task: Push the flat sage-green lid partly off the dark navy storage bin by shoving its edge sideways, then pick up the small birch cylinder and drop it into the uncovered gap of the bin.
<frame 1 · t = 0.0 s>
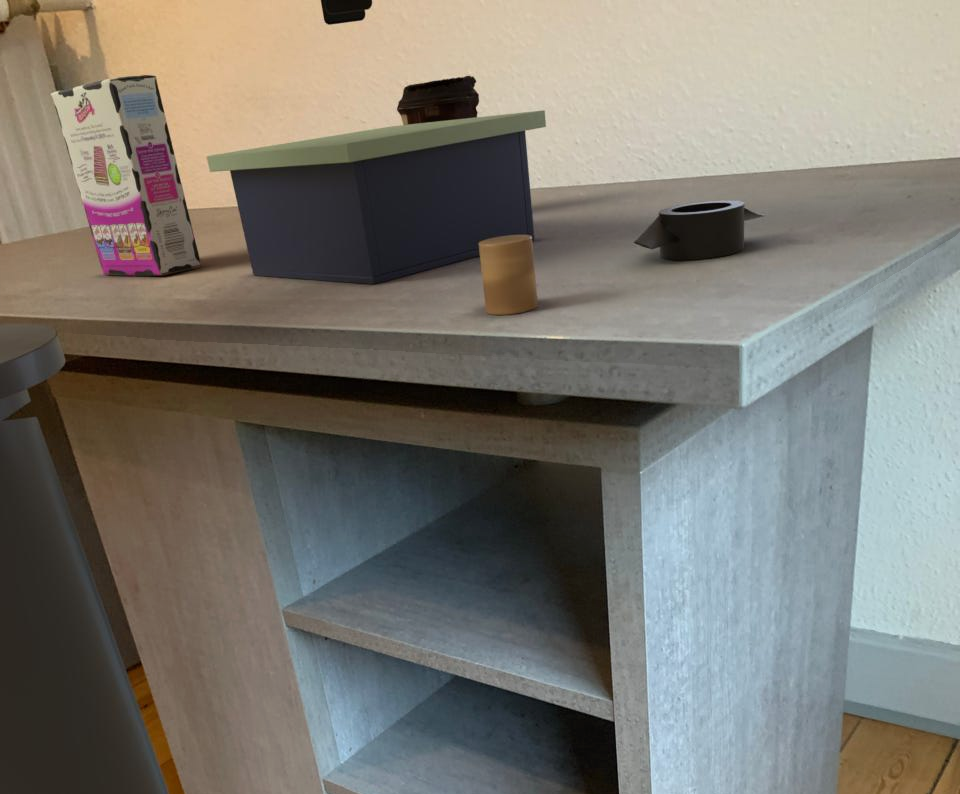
hand: (347, 17, 71), 18 cm above the table, tool pointing down, fingers open, 9 cm apart
candy bar box: (153, 273, 97), on the table
bin: (392, 258, 85), on the table
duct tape: (701, 254, 69), on the table
dark brown piece: (454, 223, 103), on the table
cylinder: (512, 308, 60), on the table
bin lid: (375, 149, 81), point 8 cm above the table, touching bin
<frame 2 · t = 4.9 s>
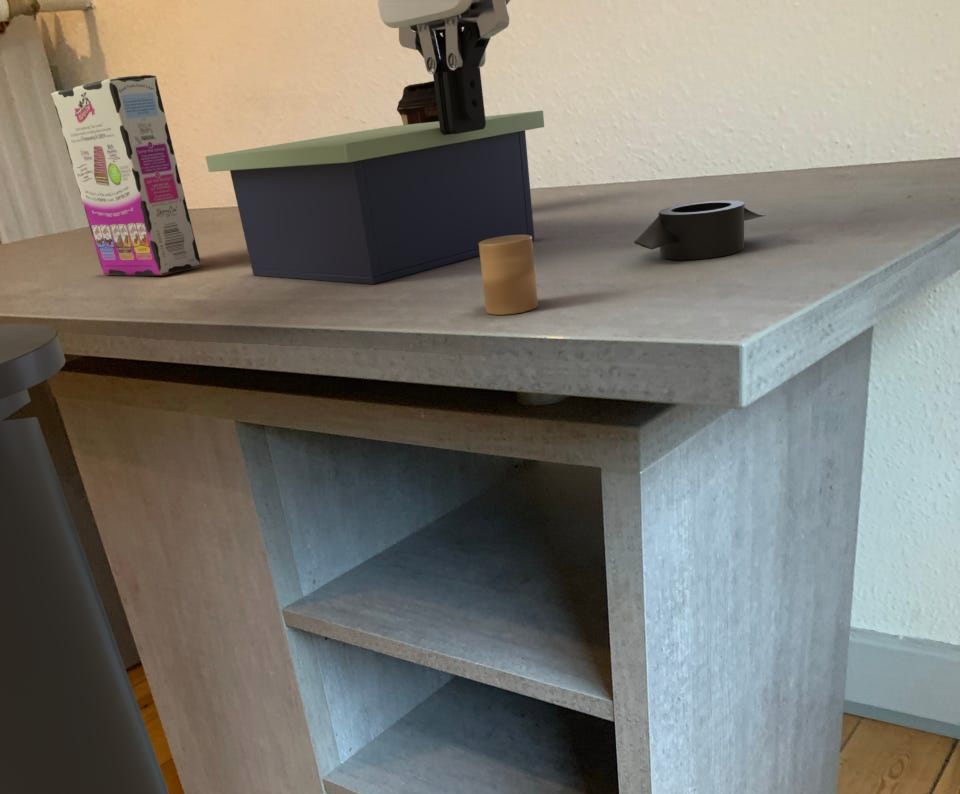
hand: (463, 131, 73), 9 cm above the table, tool pointing down, fingers closed
bin lid: (374, 149, 81), point 8 cm above the table, touching bin, gripper
everything else where it was.
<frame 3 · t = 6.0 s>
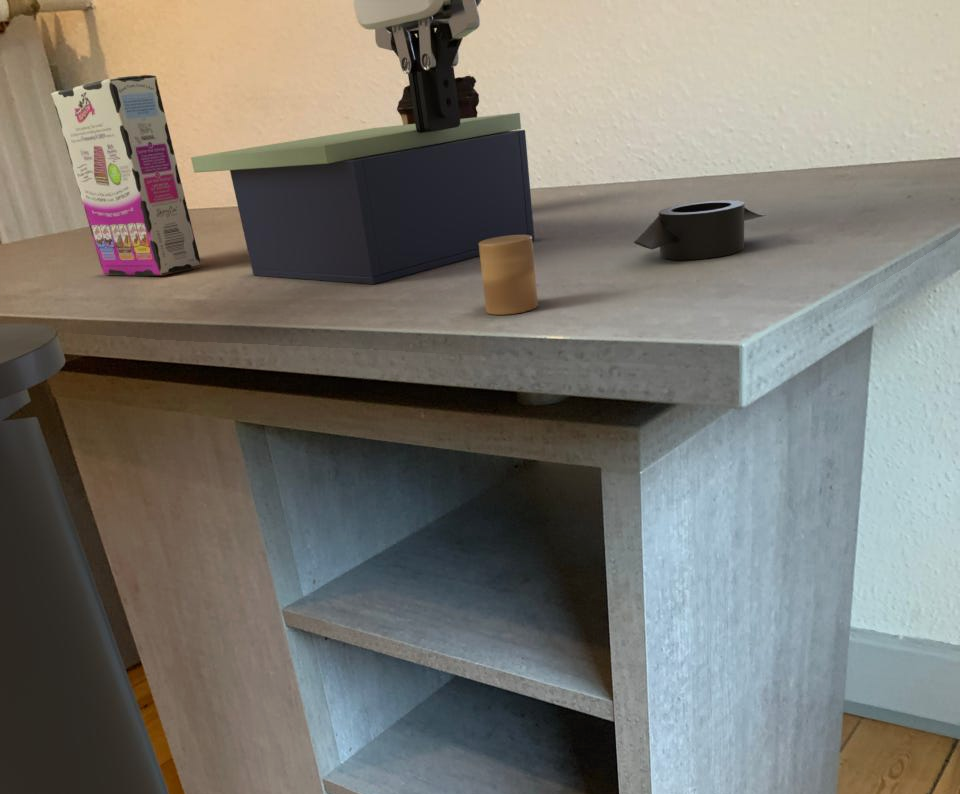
hand: (438, 129, 75), 10 cm above the table, tool pointing down, fingers closed
bin lid: (355, 151, 83), point 9 cm above the table, touching bin, gripper
everything else where it was.
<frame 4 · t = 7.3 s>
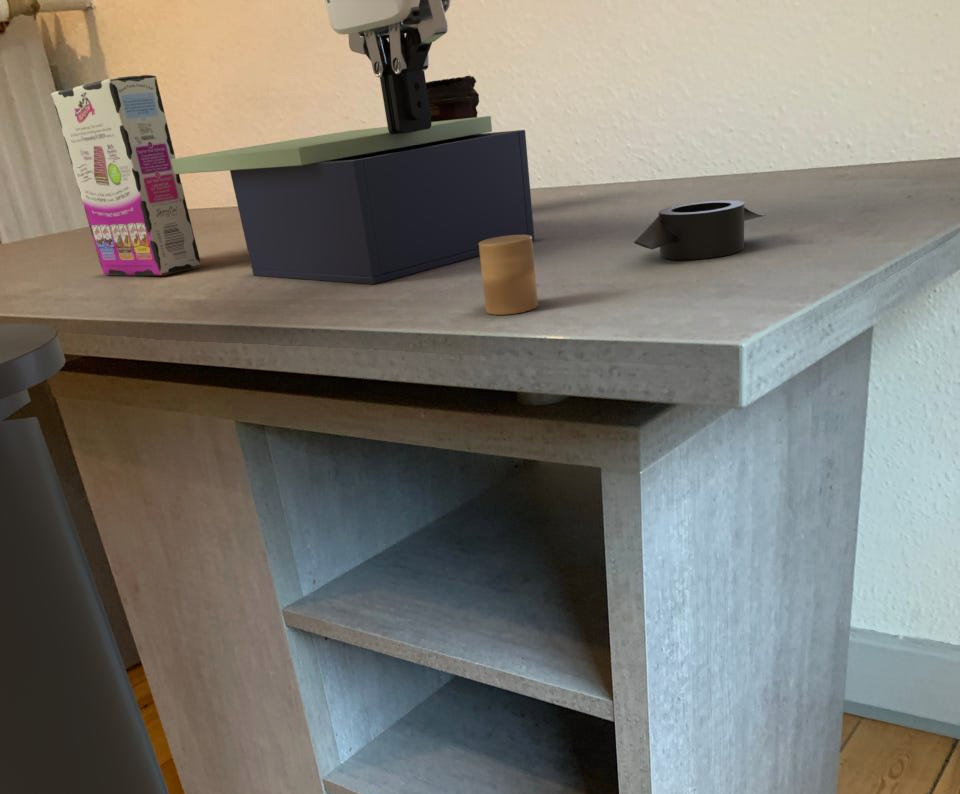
hand: (410, 130, 77), 10 cm above the table, tool pointing down, fingers closed
bin lid: (331, 153, 85), point 9 cm above the table, touching bin, gripper
everything else where it was.
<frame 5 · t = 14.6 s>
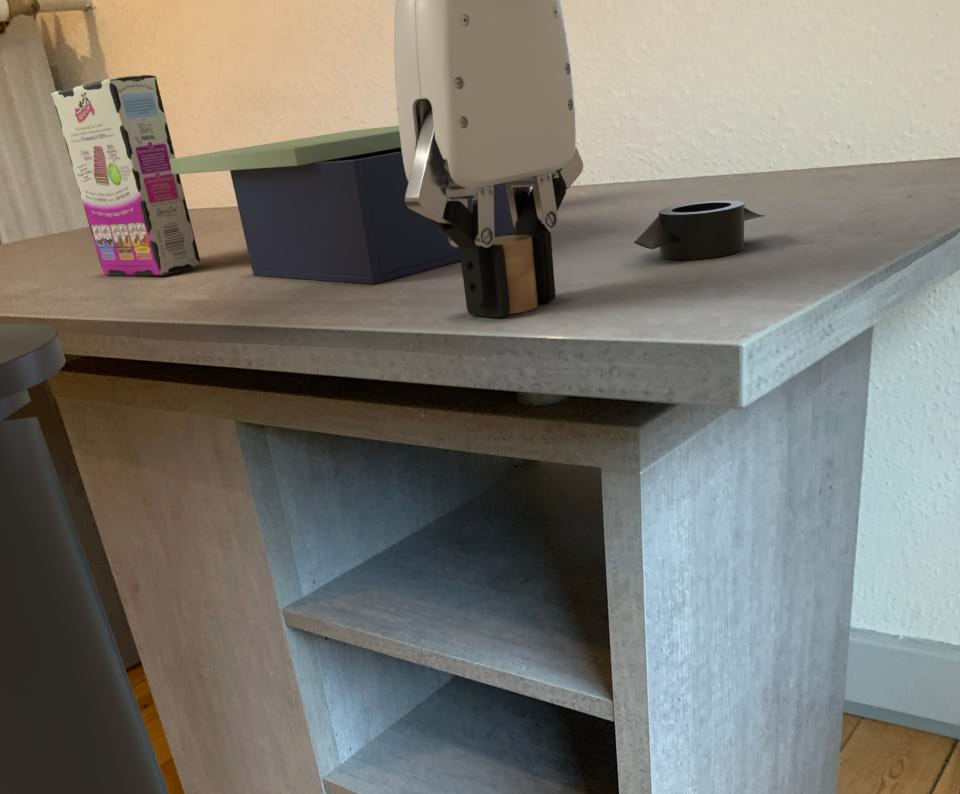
hand: (511, 304, 60), 0 cm above the table, tool pointing down, fingers closed on cylinder, 3 cm apart
cylinder: (512, 308, 60), on the table, touching gripper
bin lid: (328, 153, 85), point 8 cm above the table, touching bin
everything else where it was.
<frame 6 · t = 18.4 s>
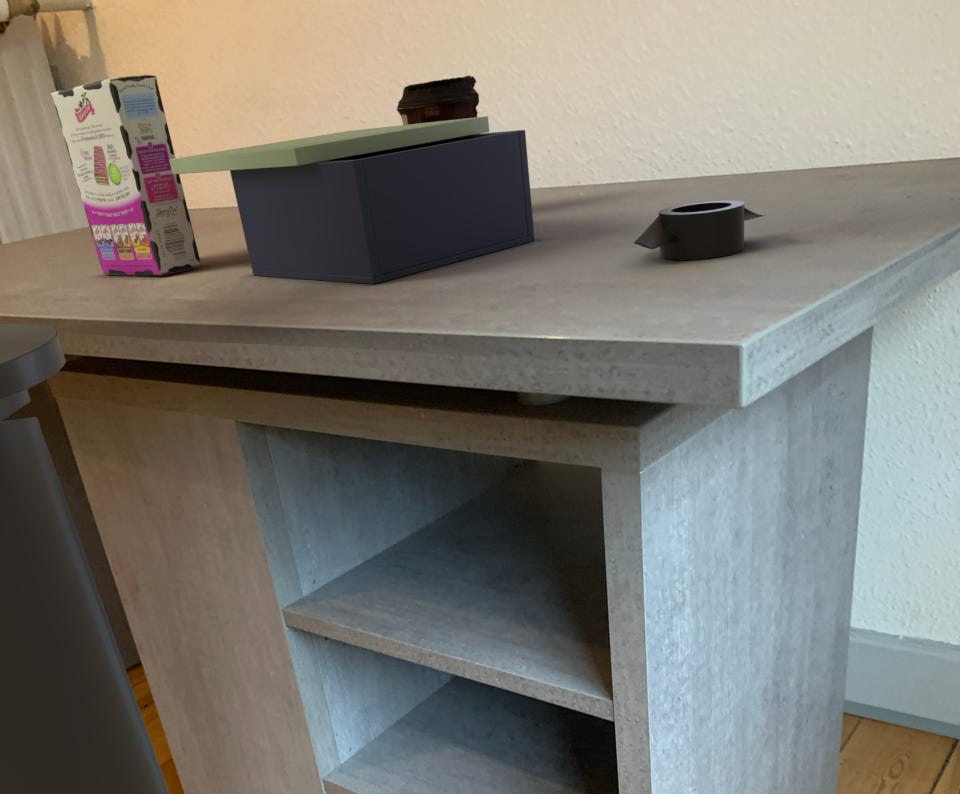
when the fingers open (8 cm above the table, at t = 22.1 s): cylinder drops 7 cm, resting on bin.
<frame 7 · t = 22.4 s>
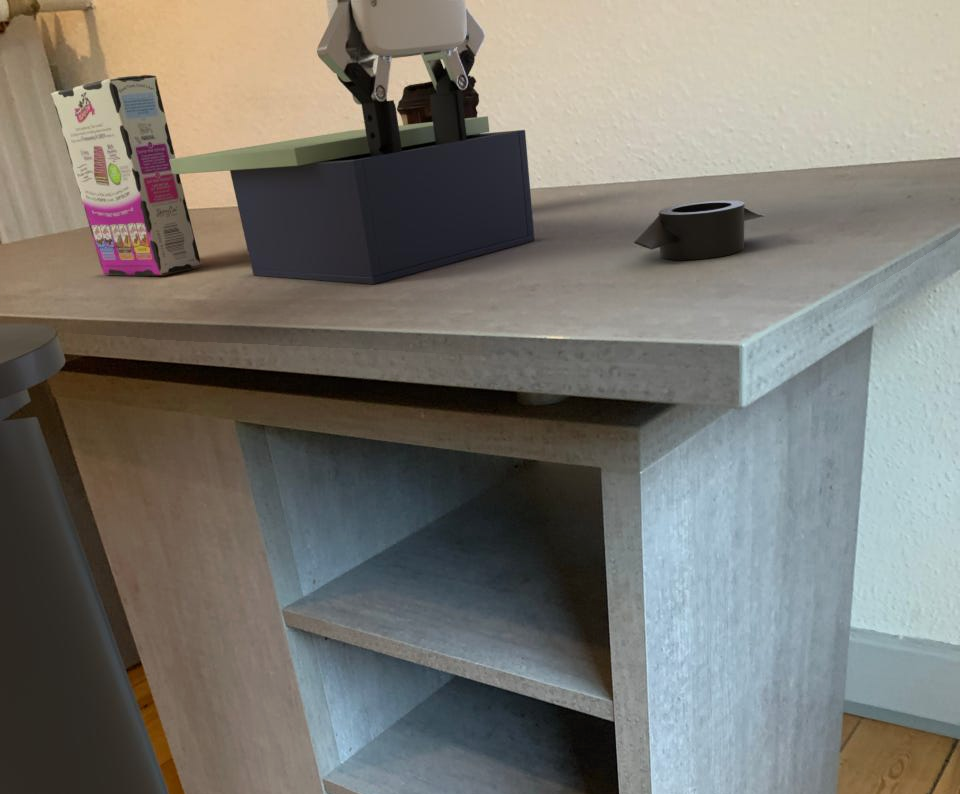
hand: (420, 152, 77), 8 cm above the table, tool pointing down, fingers open, 6 cm apart
cylinder: (433, 253, 81), resting on bin
everything else where it was.
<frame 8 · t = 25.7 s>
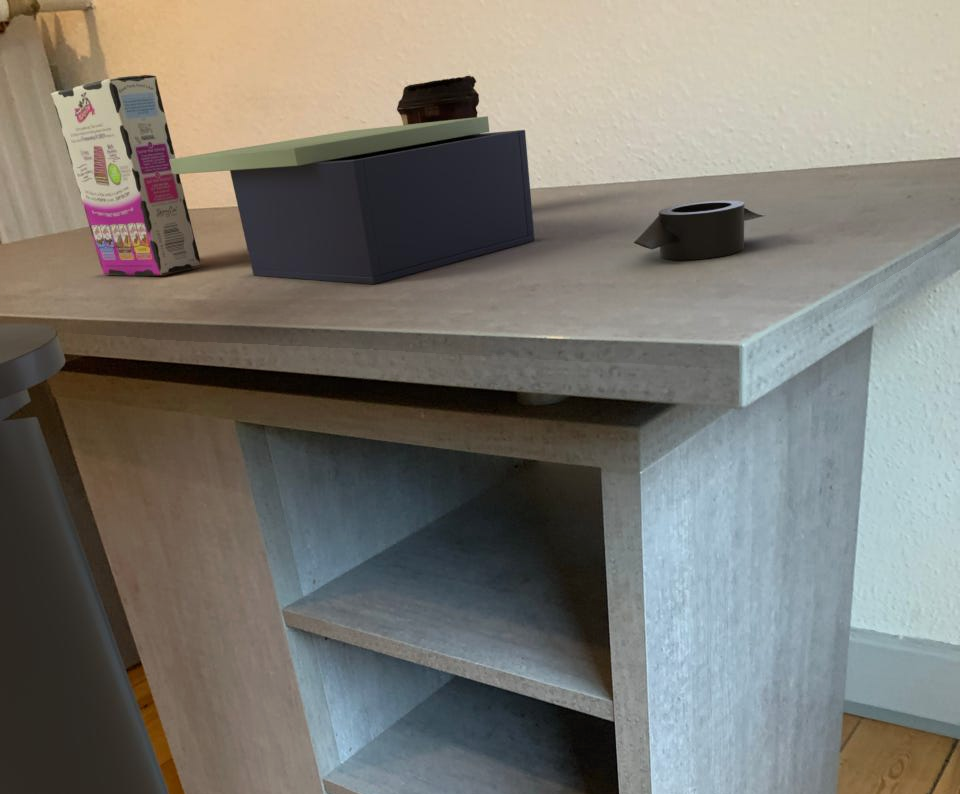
nothing on the table moved.
at the end: bin lid 0.2 cm from the target spot on the bin, point 8.5 cm above the bin's base; cylinder inside the target area in the bin (5.7 cm from its centre), point 0.5 cm above the bin's base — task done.
